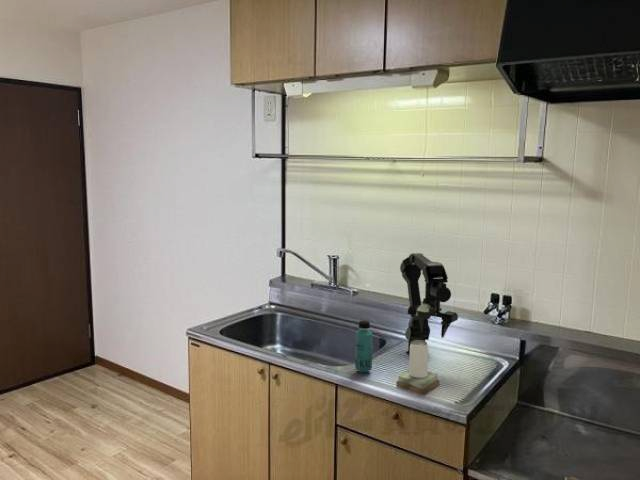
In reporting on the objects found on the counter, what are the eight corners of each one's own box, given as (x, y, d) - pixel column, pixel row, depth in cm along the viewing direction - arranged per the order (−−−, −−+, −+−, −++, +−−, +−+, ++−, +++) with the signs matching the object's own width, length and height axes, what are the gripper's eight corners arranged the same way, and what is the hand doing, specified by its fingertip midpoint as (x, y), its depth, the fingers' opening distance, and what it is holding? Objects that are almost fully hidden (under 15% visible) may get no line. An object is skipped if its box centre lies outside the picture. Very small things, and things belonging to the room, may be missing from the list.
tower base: (396, 386, 186) (396, 376, 186) (412, 377, 195) (412, 366, 194) (424, 395, 179) (424, 384, 179) (439, 385, 188) (439, 374, 187)
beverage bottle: (357, 368, 203) (358, 318, 200) (374, 370, 201) (375, 320, 198) (352, 374, 197) (352, 322, 194) (369, 377, 195) (370, 324, 192)
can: (416, 380, 182) (416, 346, 180) (405, 373, 188) (406, 341, 186) (431, 376, 185) (432, 344, 183) (420, 370, 191) (421, 338, 189)
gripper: (400, 295, 200) (399, 335, 202) (445, 304, 188) (444, 345, 190) (415, 290, 208) (414, 328, 210) (459, 297, 196) (457, 338, 199)
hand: (431, 335), depth 202 cm, fingers open, 9 cm apart
